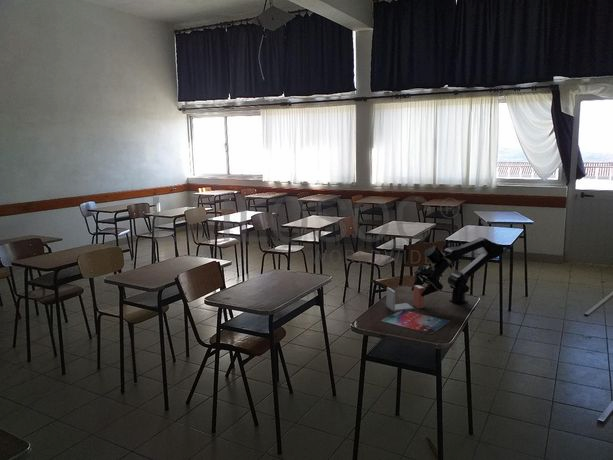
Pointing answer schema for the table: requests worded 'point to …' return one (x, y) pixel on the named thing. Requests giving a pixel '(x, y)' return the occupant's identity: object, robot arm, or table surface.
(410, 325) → the tablet
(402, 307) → the bookstand
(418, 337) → the table surface
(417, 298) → the book
